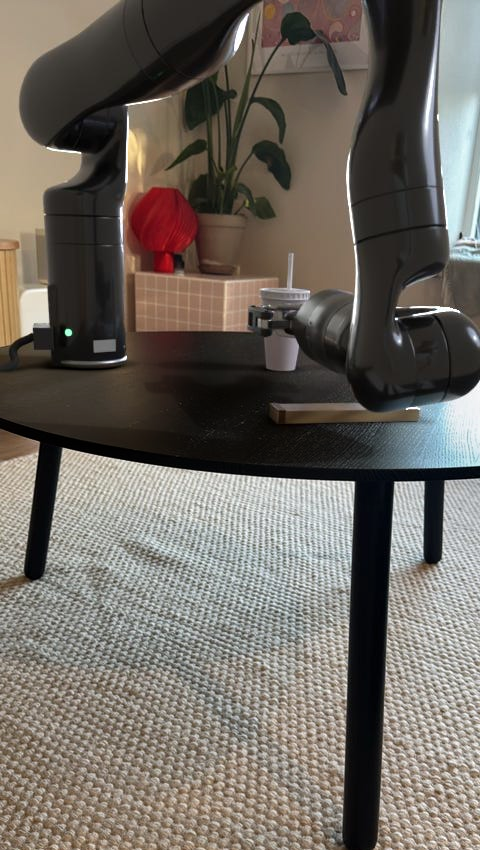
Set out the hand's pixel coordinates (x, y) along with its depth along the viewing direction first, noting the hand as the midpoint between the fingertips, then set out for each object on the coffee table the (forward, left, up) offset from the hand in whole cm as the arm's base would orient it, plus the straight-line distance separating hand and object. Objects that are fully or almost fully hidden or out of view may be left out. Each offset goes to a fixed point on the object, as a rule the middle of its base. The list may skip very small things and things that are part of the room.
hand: (297, 313), depth 88 cm
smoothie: (0, +6, -8) cm, 10 cm away
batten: (-1, -21, -8) cm, 22 cm away
